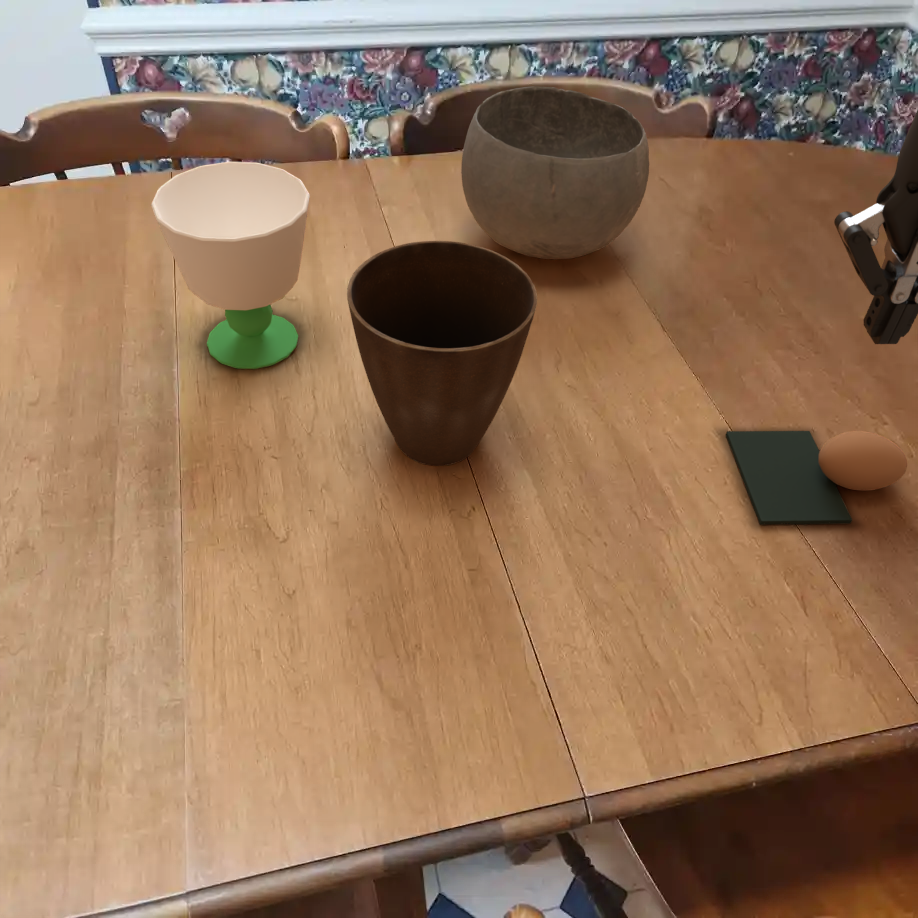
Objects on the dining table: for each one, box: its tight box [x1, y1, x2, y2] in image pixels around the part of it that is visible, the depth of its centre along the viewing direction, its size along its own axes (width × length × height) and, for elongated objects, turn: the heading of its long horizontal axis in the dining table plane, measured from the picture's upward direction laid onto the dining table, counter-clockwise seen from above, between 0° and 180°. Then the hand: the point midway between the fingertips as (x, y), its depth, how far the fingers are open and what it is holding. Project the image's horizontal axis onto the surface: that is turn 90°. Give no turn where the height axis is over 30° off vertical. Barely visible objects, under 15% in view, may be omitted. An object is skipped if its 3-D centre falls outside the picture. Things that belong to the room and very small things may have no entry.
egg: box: [819, 430, 908, 491], centre depth 77 cm, size 5×5×8 cm
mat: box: [725, 430, 853, 526], centre depth 79 cm, size 11×8×1 cm
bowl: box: [460, 85, 650, 260], centre depth 99 cm, size 20×20×15 cm
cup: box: [150, 161, 311, 370], centre depth 84 cm, size 14×14×16 cm
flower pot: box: [346, 240, 538, 467], centre depth 75 cm, size 15×15×16 cm
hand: (880, 337), depth 64 cm, fingers closed
